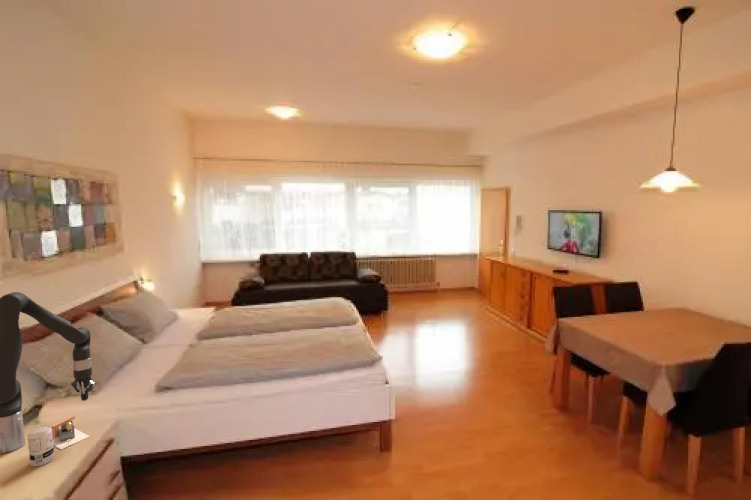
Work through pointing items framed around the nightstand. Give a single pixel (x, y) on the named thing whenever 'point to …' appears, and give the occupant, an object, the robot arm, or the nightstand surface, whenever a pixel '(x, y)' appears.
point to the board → (78, 437)
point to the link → (66, 432)
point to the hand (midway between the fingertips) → (84, 400)
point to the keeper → (56, 426)
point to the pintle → (68, 426)
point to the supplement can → (40, 445)
